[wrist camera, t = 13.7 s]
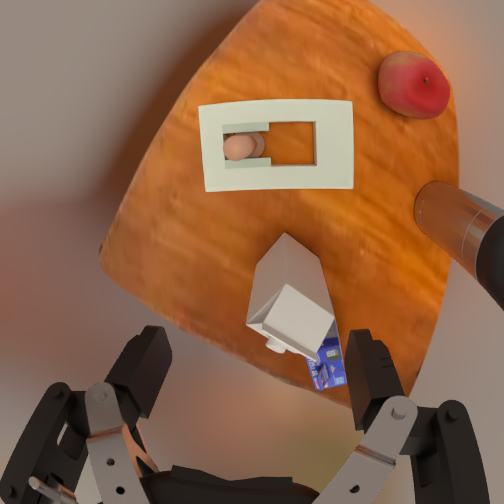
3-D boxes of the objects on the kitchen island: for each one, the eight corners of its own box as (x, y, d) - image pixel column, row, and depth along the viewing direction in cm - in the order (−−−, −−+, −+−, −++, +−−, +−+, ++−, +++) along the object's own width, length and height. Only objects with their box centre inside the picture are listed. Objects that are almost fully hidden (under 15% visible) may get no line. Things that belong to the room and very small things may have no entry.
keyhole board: (347, 103, 32) (352, 101, 29) (348, 185, 37) (353, 189, 34) (203, 107, 34) (198, 106, 31) (210, 188, 39) (205, 192, 36)
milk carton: (284, 230, 40) (286, 306, 23) (319, 257, 42) (341, 341, 25) (256, 264, 43) (240, 349, 26) (290, 288, 45) (293, 377, 27)
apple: (432, 91, 28) (469, 86, 19) (404, 133, 32) (439, 136, 23) (385, 49, 27) (413, 30, 18) (354, 91, 31) (379, 79, 22)
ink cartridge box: (298, 302, 46) (303, 365, 32) (330, 294, 44) (345, 355, 31) (311, 342, 49) (316, 403, 36) (338, 335, 48) (351, 395, 35)
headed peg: (263, 127, 34) (257, 124, 24) (265, 159, 36) (260, 169, 26) (230, 130, 35) (211, 128, 25) (233, 161, 37) (215, 172, 27)
